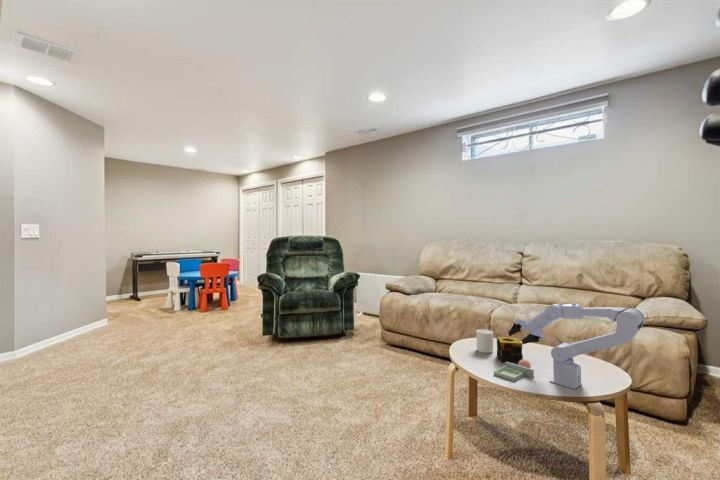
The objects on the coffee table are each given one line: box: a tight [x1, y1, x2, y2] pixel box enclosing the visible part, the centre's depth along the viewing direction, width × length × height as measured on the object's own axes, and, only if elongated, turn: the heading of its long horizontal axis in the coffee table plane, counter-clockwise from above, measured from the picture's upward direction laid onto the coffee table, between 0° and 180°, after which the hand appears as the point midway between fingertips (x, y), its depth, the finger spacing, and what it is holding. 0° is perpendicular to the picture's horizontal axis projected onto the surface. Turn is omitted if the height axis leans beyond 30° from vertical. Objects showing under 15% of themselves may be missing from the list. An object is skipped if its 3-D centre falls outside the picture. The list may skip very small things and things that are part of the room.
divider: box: [505, 362, 535, 380], centre depth 149 cm, size 12×2×4 cm, turn 39°
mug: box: [476, 328, 494, 354], centre depth 181 cm, size 12×8×10 cm
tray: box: [493, 365, 525, 382], centre depth 147 cm, size 9×9×2 cm
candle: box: [496, 336, 524, 365], centre depth 166 cm, size 10×10×10 cm
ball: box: [517, 358, 532, 369], centre depth 152 cm, size 5×5×5 cm
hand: (515, 338), depth 155 cm, fingers open, 7 cm apart
